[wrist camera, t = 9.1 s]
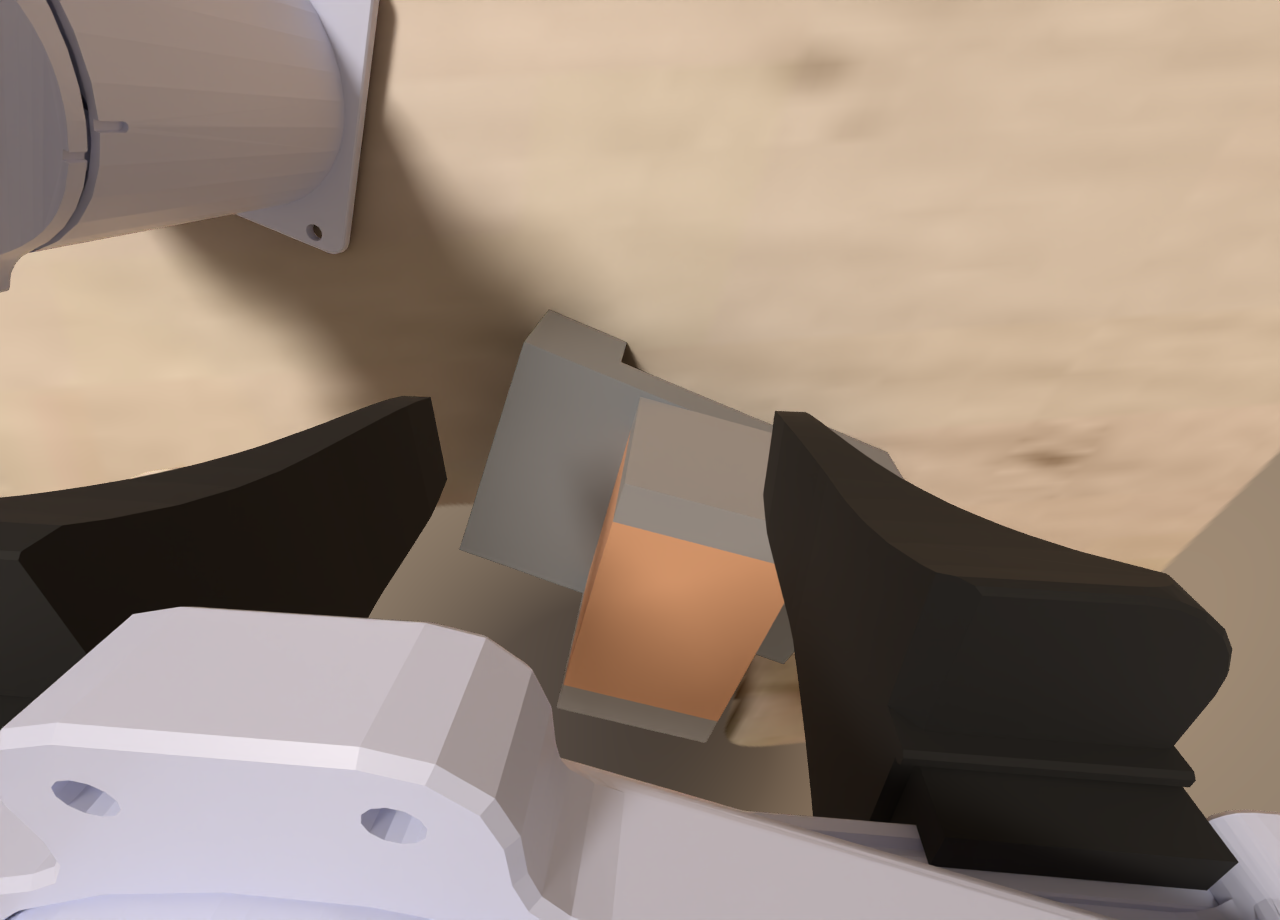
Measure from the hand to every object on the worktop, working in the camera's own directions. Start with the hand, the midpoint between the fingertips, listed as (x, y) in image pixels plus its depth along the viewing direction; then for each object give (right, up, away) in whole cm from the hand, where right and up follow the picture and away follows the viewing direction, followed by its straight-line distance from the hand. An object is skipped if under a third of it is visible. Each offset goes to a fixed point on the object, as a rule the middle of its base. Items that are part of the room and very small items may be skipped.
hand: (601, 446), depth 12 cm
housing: (+2, -3, +8) cm, 9 cm away
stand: (+2, -1, +11) cm, 12 cm away
